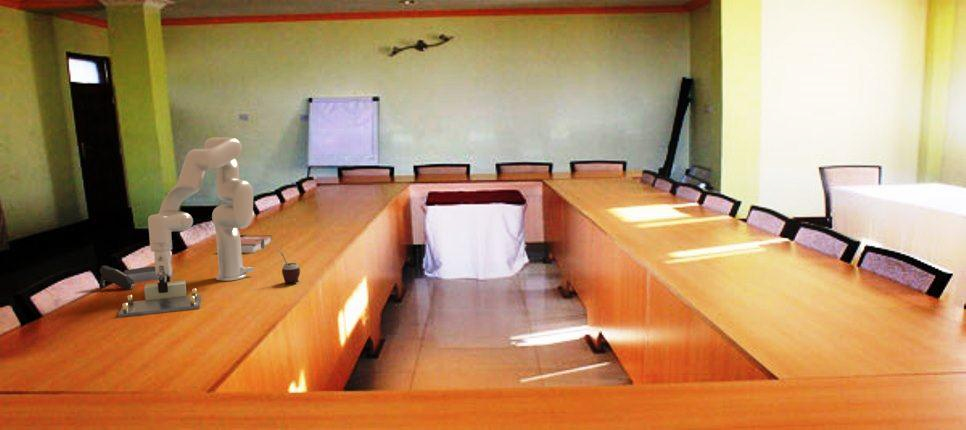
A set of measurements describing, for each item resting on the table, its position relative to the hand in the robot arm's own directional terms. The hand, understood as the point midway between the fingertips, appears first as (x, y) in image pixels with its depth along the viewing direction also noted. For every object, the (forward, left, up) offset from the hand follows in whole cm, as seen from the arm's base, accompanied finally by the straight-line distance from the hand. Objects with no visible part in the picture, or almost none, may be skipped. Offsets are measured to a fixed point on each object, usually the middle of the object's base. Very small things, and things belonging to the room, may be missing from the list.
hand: (164, 289), depth 246 cm
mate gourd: (-47, 0, -3) cm, 47 cm away
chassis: (0, +15, -3) cm, 15 cm away
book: (-31, -83, -3) cm, 88 cm away
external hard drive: (+10, -35, -3) cm, 36 cm away
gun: (+19, -20, -3) cm, 28 cm away
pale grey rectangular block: (0, 0, -3) cm, 3 cm away
